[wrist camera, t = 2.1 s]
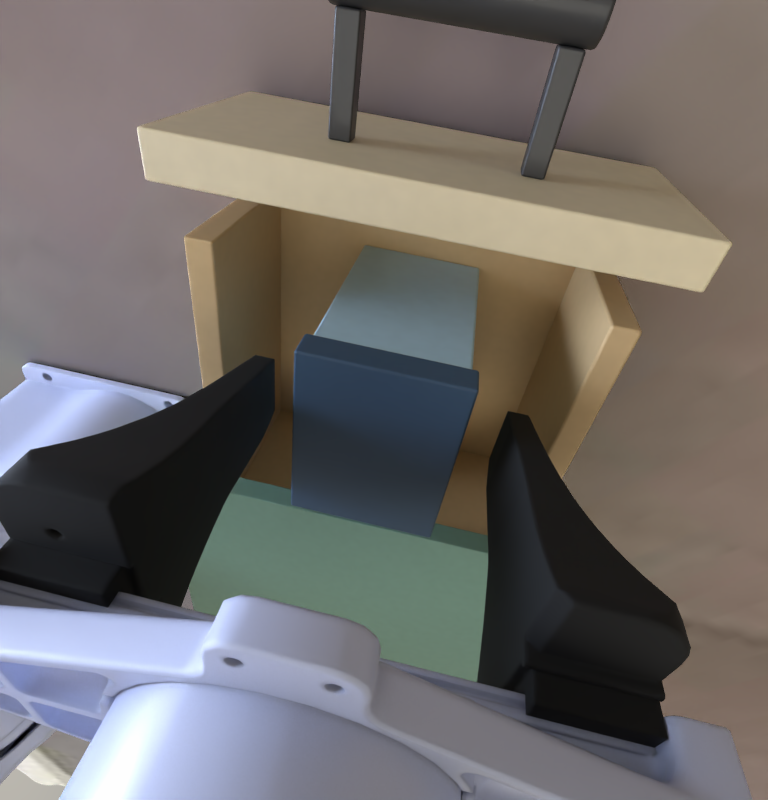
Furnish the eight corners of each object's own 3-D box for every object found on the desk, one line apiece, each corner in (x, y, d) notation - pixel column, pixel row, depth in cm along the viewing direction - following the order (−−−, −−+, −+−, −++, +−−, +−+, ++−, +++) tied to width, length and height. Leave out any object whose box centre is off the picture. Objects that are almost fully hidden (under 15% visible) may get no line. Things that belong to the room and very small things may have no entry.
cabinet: (253, 352, 24) (163, 476, 18) (549, 416, 23) (570, 573, 17) (260, 529, 33) (203, 654, 27) (473, 580, 32) (466, 722, 26)
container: (346, 371, 21) (290, 506, 15) (360, 238, 17) (293, 350, 12) (449, 393, 21) (430, 539, 15) (485, 264, 17) (479, 391, 11)
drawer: (243, -81, 14) (90, -138, 9) (732, 1, 13) (886, -7, 8) (259, 401, 25) (197, 502, 20) (522, 460, 24) (529, 581, 19)
